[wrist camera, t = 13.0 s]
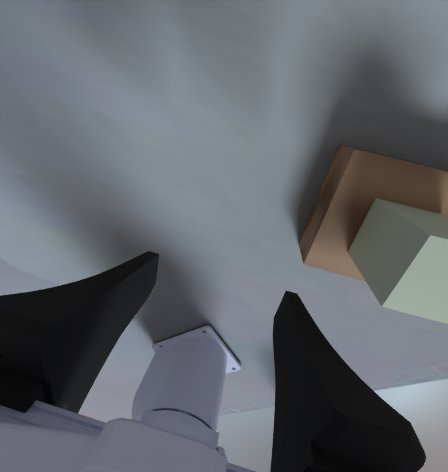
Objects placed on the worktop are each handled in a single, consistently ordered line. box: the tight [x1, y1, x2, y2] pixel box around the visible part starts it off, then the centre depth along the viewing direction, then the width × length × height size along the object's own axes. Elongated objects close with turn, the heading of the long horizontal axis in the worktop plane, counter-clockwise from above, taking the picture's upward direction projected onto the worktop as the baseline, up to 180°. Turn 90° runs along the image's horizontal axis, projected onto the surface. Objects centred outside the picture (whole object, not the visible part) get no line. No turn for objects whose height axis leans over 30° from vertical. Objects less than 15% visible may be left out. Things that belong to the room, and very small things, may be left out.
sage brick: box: [348, 198, 448, 324], centre depth 14 cm, size 4×4×6 cm
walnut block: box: [299, 145, 448, 281], centre depth 19 cm, size 9×9×4 cm
